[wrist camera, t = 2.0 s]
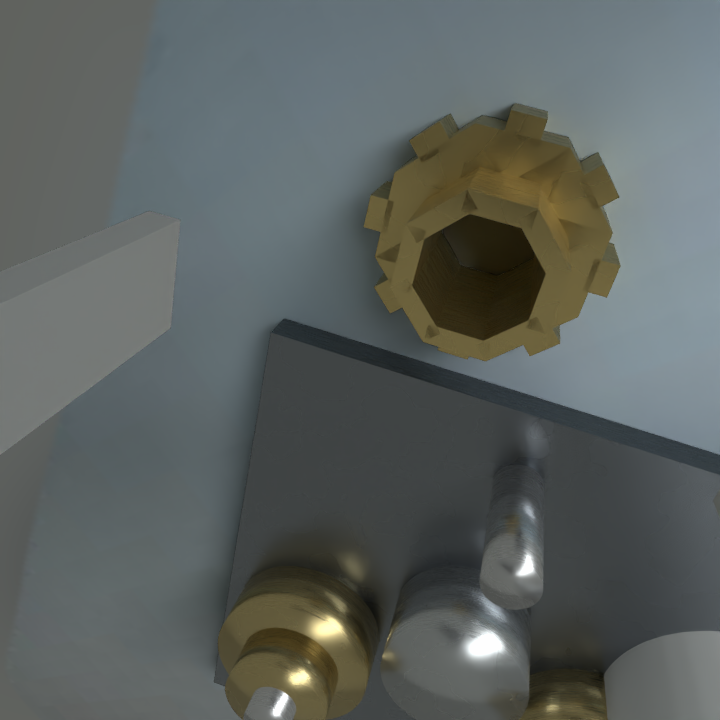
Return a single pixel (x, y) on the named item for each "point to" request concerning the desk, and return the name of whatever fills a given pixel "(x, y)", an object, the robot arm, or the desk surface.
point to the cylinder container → (666, 679)
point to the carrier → (451, 545)
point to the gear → (502, 204)
